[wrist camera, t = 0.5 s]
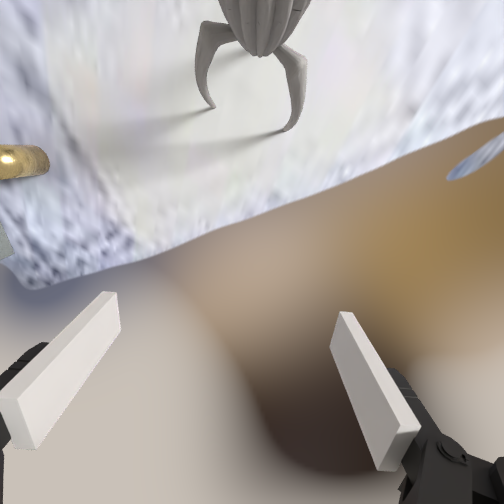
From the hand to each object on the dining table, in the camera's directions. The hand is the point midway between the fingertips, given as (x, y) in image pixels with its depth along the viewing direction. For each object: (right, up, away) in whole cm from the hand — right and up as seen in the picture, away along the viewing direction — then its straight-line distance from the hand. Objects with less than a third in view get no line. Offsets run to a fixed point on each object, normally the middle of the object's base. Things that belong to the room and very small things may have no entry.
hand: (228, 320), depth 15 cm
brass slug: (-30, +17, +21) cm, 40 cm away
